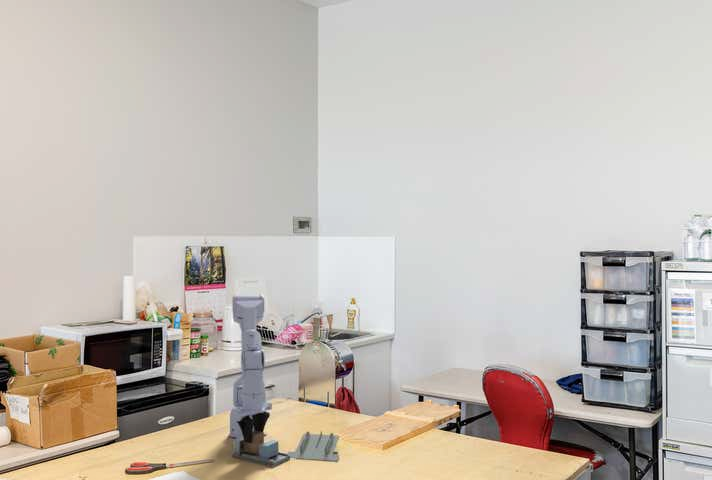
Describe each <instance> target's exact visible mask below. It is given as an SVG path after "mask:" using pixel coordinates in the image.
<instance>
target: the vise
mask: <svg viewBox="0 0 712 480" xmlns="http://www.w3.org/2000/svg"><path fill="white" fill-rule="evenodd" d="M232 444H233V445H232V449H233V451H232V453H231V457H232V458H234V459H239V460H242V461H246V462H251V463H255V464H260V465H263V464H264V465H263V466H267V465H269V466H268V467H271V466H274V467H276V466H279V465H280V464H282V463H284V461H285V462H286V460H287V461H289V460H291V459H290V455H288V452H283V451H279V453H278V454H276V455H274V456H272V457H270V458H268V459H266V458H262V457H260V451H259V452H257V453H251V452H246V451H244V438H243V436H241V437H239V438H234V439H233V440H232ZM275 465H276V466H275Z"/></svg>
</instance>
